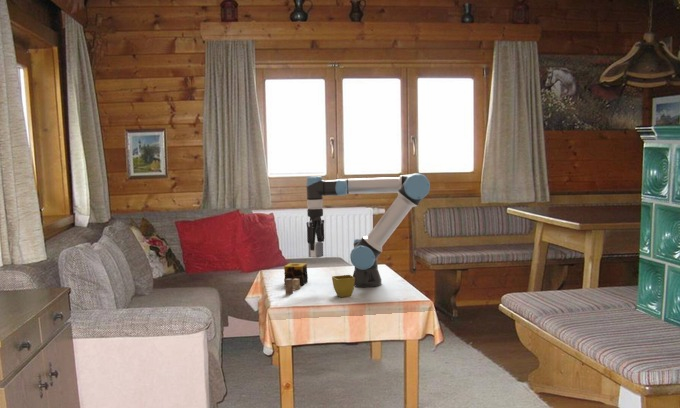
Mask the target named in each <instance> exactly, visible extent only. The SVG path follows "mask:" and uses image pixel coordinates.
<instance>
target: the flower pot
mask: <svg viewBox="0 0 680 408" xmlns="http://www.w3.org/2000/svg"><path fill="white" fill-rule="evenodd" d="M331 279H332V287H333V290H334V291H335V293H336V296H338V297H340V298H344V297H345V298H347V297H351V296H352V294H353V292H354V290H355V286H354V283H355V278H354V277H353V275H351V274H344V275H343V274H342V275H331Z"/></svg>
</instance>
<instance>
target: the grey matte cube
mask: <svg viewBox="0 0 680 408" xmlns="http://www.w3.org/2000/svg"><path fill="white" fill-rule="evenodd" d="M307 244H308V258H312V257H311V251H310V244H309V243H308V242H307ZM315 244H316V257H314V258H316V259H317V258H321V257H324V242H322V243H321V242H318V241H315Z"/></svg>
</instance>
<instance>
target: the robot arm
mask: <svg viewBox="0 0 680 408" xmlns="http://www.w3.org/2000/svg"><path fill="white" fill-rule="evenodd" d="M430 190H431V182H430V180H429V178H428V177H427V176H426V174H423V173H420V172H415V173H414V172H413V173H410V174H403V175H402V174H401V175H399V176H398V177H397V176H396V177H367V178H366V177H362V178H358V177H357V178H336V179H328V180H326V179H323V177H322V176H320V175H317V176H312V175H311V176H307V178H306V203H307V204H306V206H307V210H306V211H307V213H306V214H307V217H309V222H306V229H307V230H306V238H307V239H306V241H307V244H308V243H309V244H310V251H311V257H310V258H315V257H316V244H315V242H321V243H324V242H325V219H322V217H323V216H324V209H323V207H324V200H323V197H326V196H327V197H328V196H331V197H333V196H339V197H341V196H346V195H348V194H349V195H350V194H354V195H355V194H395V193H396V194H397V197H396V198H395V199H394V201H393V202H392V204H391V205H390V206H389V207H388V209H387V210H386V211H385V212H384V214H383V215H382V216H381V218H380V219H379V220H378V221H377V223H376V224H375V226H374V227H372V230H371V231H370V232H369V233H368V234H367V235H364V236H362V238H359V239H358V238H356V239H354V240H353V249H352V250H351V251H350V254H349V255H350V256H349V257H350V262H351V264H352V265H353V266H354V269H353V274H352V276H353V277H354V278H355V283H354V287H358V288H371V287H372V288H375V287H379V286H381V285H382V278H381V274H380V272H379V268H378V258H379V256H381V254H382V253H383V246H384V245H385V243H386V242H387V241H388V240H389V238H390V237H391V236H392V234H393V233H394V232H395V230H396V229H397V228H398V226H400V225H401V223H402V221H403V220H404V219H405V218H406V216H407V215H408V214H409V212H410V211H411V210H412V209H413V208H414V207H418V206H419V205H420V203H421V202H422V201H423V199H424V198H425V197H427V196H428V194H429V193H430ZM316 240H317V241H316Z"/></svg>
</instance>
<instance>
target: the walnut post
mask: <svg viewBox="0 0 680 408" xmlns="http://www.w3.org/2000/svg"><path fill="white" fill-rule="evenodd" d="M284 283H285V285H284V287H285V288H284V289H285V295H292V294H293V293H294V290H293V279H285V282H284Z"/></svg>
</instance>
